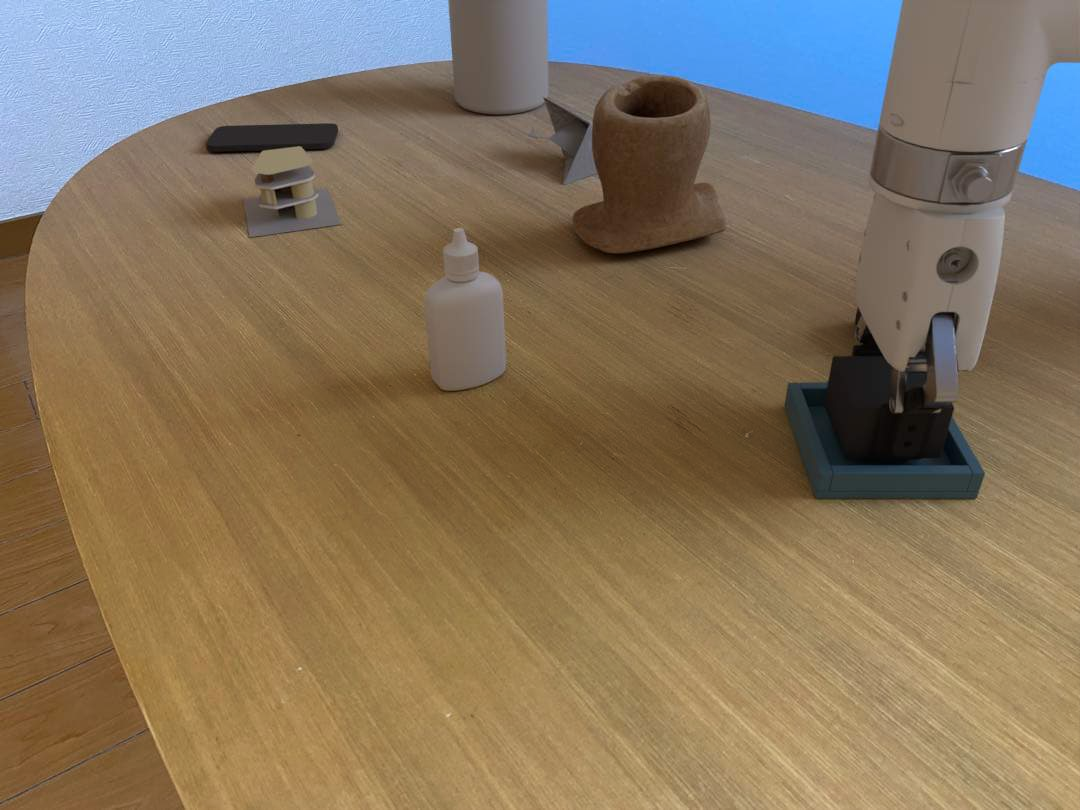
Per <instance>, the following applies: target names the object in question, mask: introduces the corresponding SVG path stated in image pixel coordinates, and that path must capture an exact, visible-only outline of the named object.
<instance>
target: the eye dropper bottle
mask: <svg viewBox="0 0 1080 810" xmlns="http://www.w3.org/2000/svg"><path fill="white" fill-rule="evenodd" d="M442 257H443V269H444V276H443V277H441V278H440V279H438V280H437V281H435V282H434V283H432V285H430V286H429V287H428V288H427V290H426V291H425V293H424V295H423V296H424V297H423V302H424V303H423V304H424V315H425V327H426V328H425V329H426V337H427V347H428V358H429V359H428V360H429V368H430V376H431V379H432V381H434V383H435V384H436V385H437V387H439V388H440V389H441V391H442V390H443V391H445V392H455V391H463V390H469V389H473V388H477V387H480V386H483V385H486V384H489V383H490V382H492V381H494V380H496V379H498V378H499V377H501V376H502V375H503V374H504V373H505V371H506V369H507V351H506V330H505V328H506V327H505V307H504V306H505V305H504V293H503V287H502V284H501V282H500V281H499V280H498V279H497V278H496V277H494V275H492V274H490V273H489V272H486V271H480V264H479V263H480V262H479V249H478V246H477V245H476V244H475V243H472V242H470V241H468V239H467V236H466V232H465V229H464V228H462V227H456V228H454V229H453V234H452V241H451V242H450V243H447V244H446V245H445V246H444V247H443V249H442Z"/></svg>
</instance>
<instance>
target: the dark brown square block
mask: <svg viewBox="0 0 1080 810" xmlns="http://www.w3.org/2000/svg"><path fill="white" fill-rule="evenodd" d="M831 359H832V360H831V365H830V370H829V376H828V380H827V382H828V386H827V391H826V396H825V401H824V406H825V409H826V411H827V414H828V416H829V419H830V421H831V424H832V426H833V429H834V431H835V434H836V436H837V439H838V442H839V444H840V447H841V449H842V452H843V454H844V457H845V459H875V458H874V457H873V454H872V452H871V450H872V445H873V441H874V437H875V432H876V428H877V424H878V419H879V415H880V411H881V406H882V404H886V403H889V396H890V383H891V370H892V366H891V365H890V364H889V363H888V362H887V361H886V359H885V357H884V356H852V355H833V356H832V358H831ZM909 359H926V358H925V357H924V355H916V356H915V357H909ZM926 381H927V373H907V381H906V391H908V390H910V389H912V388H914V387H922V386H923V385H924V384H925V383H926ZM954 410H955V406H954V403H951V404H948V405H946V406H945V407H944V408H942V409H941V412H940V413H939V414H936V417H935V421H934V424H933V428H932V431H931V435H930V439H929V442H928V446H927V450H926V453H925V456H924V457H923V458H940V456H941V453H942V449H943V446H944V442H945V439H946V435H947V432H948V428H949V425H950V421H951V418H952V417H953V414H954Z"/></svg>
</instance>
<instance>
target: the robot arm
mask: <svg viewBox="0 0 1080 810" xmlns="http://www.w3.org/2000/svg"><path fill="white" fill-rule="evenodd" d="M890 58H891V59H890V63H889V70H888V75H887V79H886V84H885V90H884V95H883V100H882V105H881V111H880V116H879V122H878V125H877V126H878V127H877V132H876V137H875V143H874V147H873V153H872V158H871V165H870V169H869V173H868V174H869V175H868V185H869V187H870V188H871V190H872V191H873V192H874V194H873V197H872V198H873V199H872V202H871V206H870V209H869V213H868V217H867V221H866V225H865V229H864V234H863V238H862V242H861V247H860V251H859V256H858V261H857V267H856V274H855V283H854V298H855V302H856V305H857V309H858V308H859V310H860V312H861V317H860V319H859V322H858V324H857V325H856V326H855V330H854V339H855V343H856V344H854V345H853V348H852V353H851V356H884V357H885V359H886V361H887V362H888V363H889V364H890V365H891V366H892V370H891V383H890V396H889V403H886V404H882V406H881V411H880V415H879V419H878V424H877V428H876V432H875V437H874V441H873V445H872V450H871V452H872V454H873V457H874V458H875V459H876V460H920V459H922V458H923V457H924V456H925V453H926V450H927V446H928V442H929V439H930V435H931V431H932V428H933V424H934V421H935V417H936V414H939V413H940V412H941V409H942V408H944V407H945V406H946V405H948V404H951V403H952V404H954V403H957V401H958V399H959V396H960V389H959V377H958V376H959V375H958V371H961V372H971V371H972V370H973V369H974V368H975V367H976V365H977V363H978V360H979V356H980V354H981V350H982V346H983V343H984V338H985V334H986V330H987V327H988V322H989V318H990V313H991V308H992V304H993V299H994V296H995V295H994V294H995V290H996V286H997V281H998V276H999V270H1000V264H1001V258H1002V248H1003V240H1004V231H1005V221H1006V211H1005V209H1004V208H1003V206H1006V205H1007V204H1008V203H1009V202H1010V200H1011V198H1012V196H1013V192H1014V187H1015V185H1016V181H1017V177H1018V174H1019V170H1020V168H1021V163H1022V160H1023V156H1024V153H1025V150H1026V146H1027V142H1028V138H1029V136H1030V132H1031V129H1032V126H1033V122H1034V119H1035V115H1036V112H1037V108H1038V104H1039V101H1040V98H1041V94H1042V91H1043V87H1044V83H1045V80H1046V77H1047V73H1048V70H1049V69H1050V68H1051V67H1052V66H1054V65H1056V64H1060V63H1062V64H1063V63H1064V64H1065V63H1066V64H1069V63H1070V64H1074V63H1075V64H1080V0H902V1H901V6H900V11H899V17H898V22H897V26H896V32H895V38H894V42H893V48H892V53H891V57H890ZM919 351H926V359H909V357H915V356H916V355H917V353H918V352H919ZM907 373H927V381H926V383H925V384H924V385H923V386H922V387H914V388H912V389H910V390H908V391H906V381H907Z"/></svg>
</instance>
